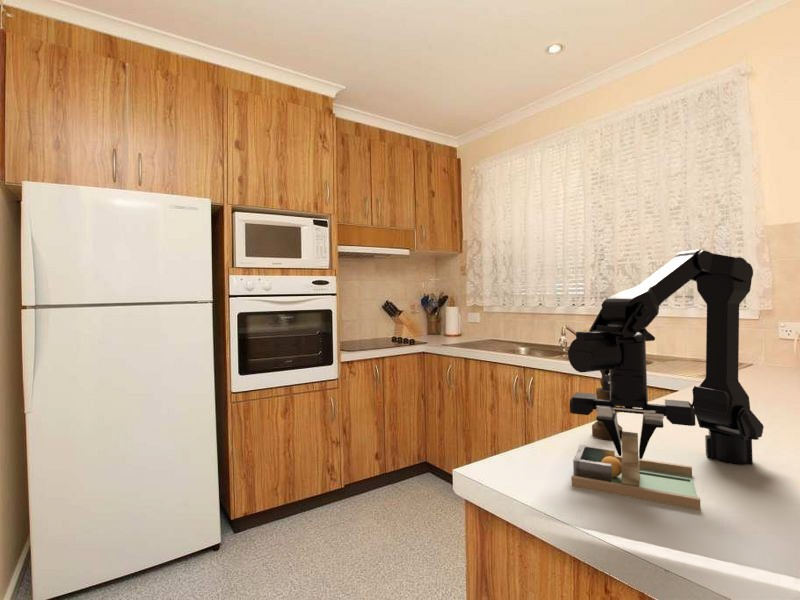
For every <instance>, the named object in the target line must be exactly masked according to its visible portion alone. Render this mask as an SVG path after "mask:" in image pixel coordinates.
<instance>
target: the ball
mask: <svg viewBox="0 0 800 600" xmlns="http://www.w3.org/2000/svg"><path fill="white" fill-rule="evenodd" d="M601 463H607V464H612V477H617V476H619V475H620V474H621V462H620V461H619V460H618V459H617V458H615V457H612V456H608V457H605V458H603V459H602V461H601Z"/></svg>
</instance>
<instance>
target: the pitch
mask: <svg viewBox="0 0 800 600" xmlns="http://www.w3.org/2000/svg"><path fill="white" fill-rule="evenodd" d="M615 458H617V459H618V460H619V461H620V462H621V464H622V455H621V456H619V455H618V454H615ZM639 462H640V483H639V486H634V485H628V484H623V483H622V474H620V475H619V476H617V477H612V482H608V481H602V480H596V479H590V478H585V477H579V476H574V474H573V475H571V487H573V488H574V487H575V488H580V489H585V490H590V491H596V492H602V493H606V494H611V495H612V494H613V495H616V496H617V495H618V496H623V497H629V498H632V499H633V498H634V499H639V500H644V501H650V502H655V503H659V504H665V505H669V506H670V505H671V506H676V507H681V508H686V509H687V508H688V509H692V510H698V511H701V510H702V508H701V507H702V505H701V498H700V497H698V494H697V490H696V486H695V482H694V478H693V467H692V465H684V464H679V463H671V462H664V461H658V460H651V459H645V458H642V459H639Z"/></svg>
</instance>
